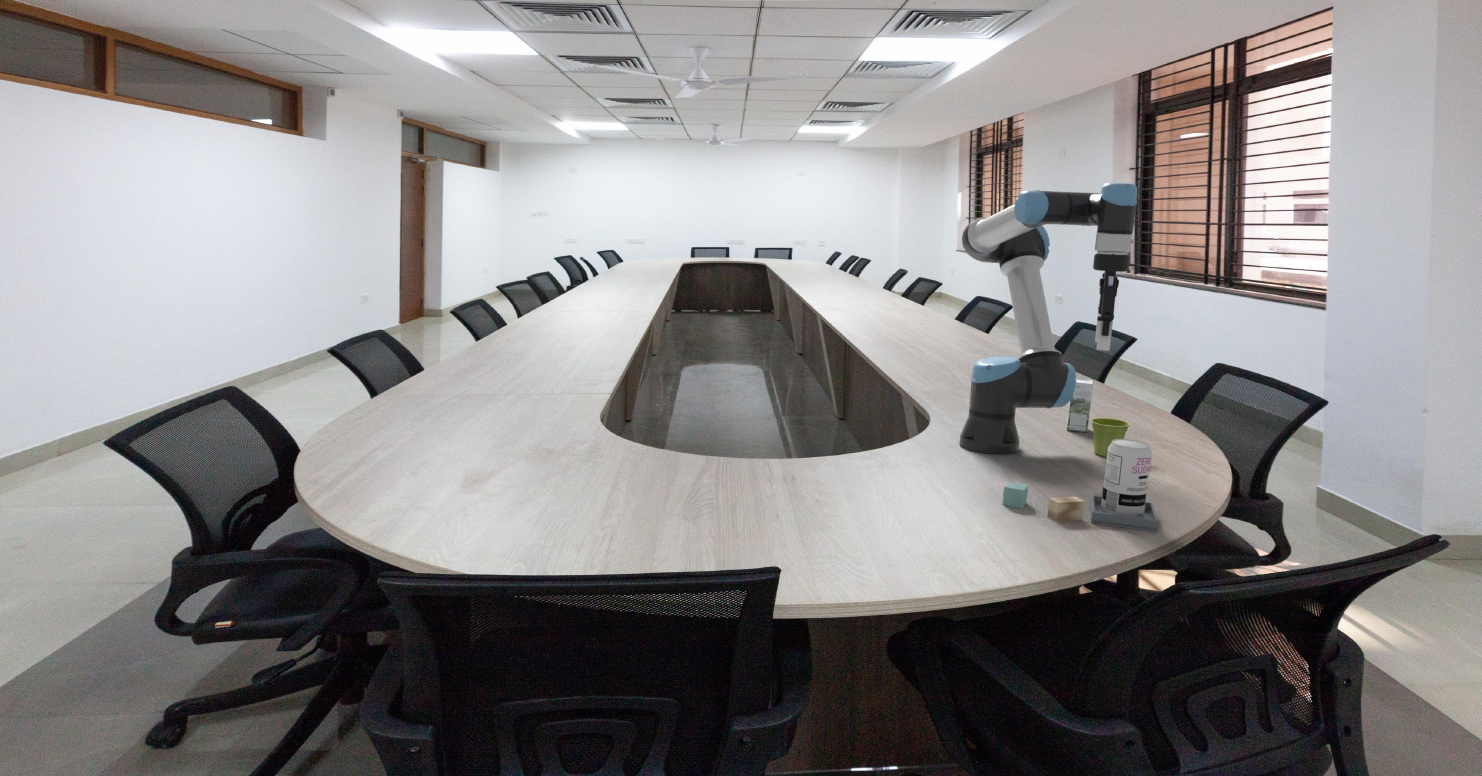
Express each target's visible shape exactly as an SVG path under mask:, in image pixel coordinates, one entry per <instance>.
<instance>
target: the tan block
mask: <svg viewBox="0 0 1482 776" xmlns="http://www.w3.org/2000/svg"><path fill="white" fill-rule="evenodd" d="M1047 507H1048V508H1047V518H1049V519H1051V520H1053V521H1055V522H1066V521H1067V522H1068V521H1070V522H1071V521H1081V520H1083V514H1084V507H1085V500H1082V499H1081V498H1079V497H1077V496H1065V497H1064V496H1062V497H1049V499H1048V506H1047Z"/></svg>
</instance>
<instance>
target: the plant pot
mask: <svg viewBox="0 0 1482 776" xmlns="http://www.w3.org/2000/svg"><path fill="white" fill-rule="evenodd" d="M1090 423H1091V427H1092V429H1093V453H1094V454H1095V455H1099V456H1100V457H1105V458H1107V451H1108V447H1109V445H1110V444H1111V443H1112V440H1115V439H1125V437H1126V433H1127V431H1128V428H1129V427H1130V426H1131V424H1130V422H1128V421H1126V420H1122V419H1116V418H1110V417H1108V418H1107V417H1099V418H1098V417H1097V418H1092V419H1090Z"/></svg>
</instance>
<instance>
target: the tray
mask: <svg viewBox="0 0 1482 776" xmlns="http://www.w3.org/2000/svg"><path fill="white" fill-rule="evenodd" d="M1089 500H1090V501H1089V511H1090V512H1089V513H1090V523H1091V524H1095V525H1101V526H1103V525H1104V526H1110V527H1116V528H1117V527H1119V528H1126V529H1133V530H1141V531H1146V532H1147V531H1149V532H1154V533H1155V532H1156V533H1157V531H1158V524H1159V519H1158V515H1157V512H1156V509H1155V506H1154V502H1149V501H1146V503H1145V511H1144V516H1142V517H1141V518H1140V517H1132V516H1125V515H1117V514H1110V513H1103V511H1102V510H1101V501H1102V495H1094V494H1090V499H1089Z"/></svg>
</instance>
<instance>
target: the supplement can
mask: <svg viewBox="0 0 1482 776" xmlns="http://www.w3.org/2000/svg"><path fill="white" fill-rule="evenodd" d="M1152 455H1153V452H1152V450H1151V447H1150V444H1149V443H1147V442H1144V441H1141V440H1136V439H1127V438H1124V439H1115V440H1112V443H1111V444H1110V445H1109V447H1108V451H1107V457H1106V461H1105V469H1104V470H1105V471H1104V474H1105V476H1104V477H1103V483H1104V485H1103V484H1102V491H1103V493H1102V492H1101V496H1102V501H1101V510H1102V511H1103V513H1110V514H1117V515H1125V516H1132V517H1140V518H1141V517H1142V516H1144V511H1145V503H1146V502H1147V494H1148V486H1149V485H1148V484H1149V479H1150V471H1151V464H1152V463H1151V462H1152Z"/></svg>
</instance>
